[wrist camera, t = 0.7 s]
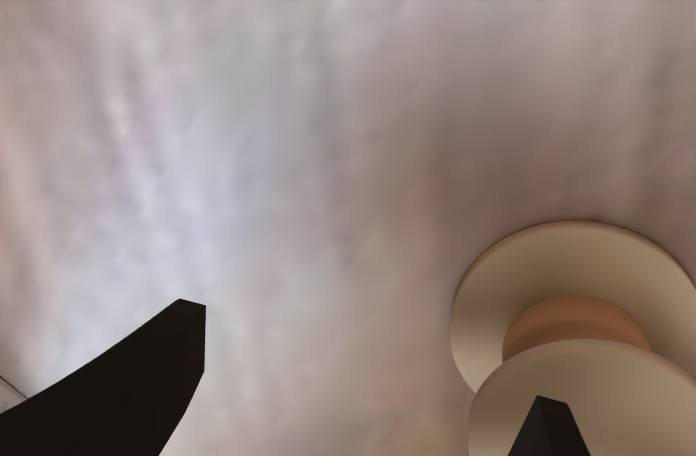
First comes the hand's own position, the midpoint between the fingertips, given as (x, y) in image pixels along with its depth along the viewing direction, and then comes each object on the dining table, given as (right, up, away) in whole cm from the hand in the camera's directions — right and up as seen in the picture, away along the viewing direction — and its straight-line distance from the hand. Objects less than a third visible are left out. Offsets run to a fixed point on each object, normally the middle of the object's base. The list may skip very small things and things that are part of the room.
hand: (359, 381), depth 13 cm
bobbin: (+8, -1, +10) cm, 13 cm away
